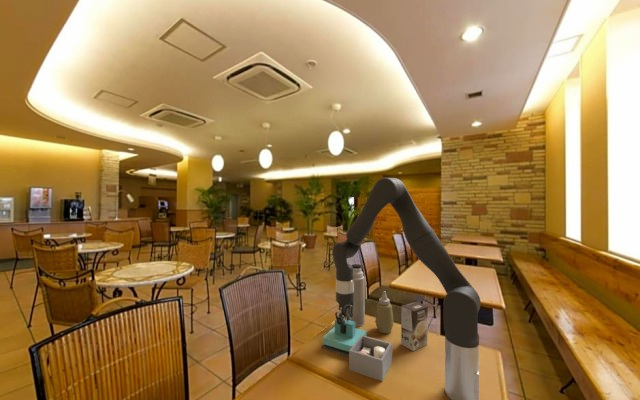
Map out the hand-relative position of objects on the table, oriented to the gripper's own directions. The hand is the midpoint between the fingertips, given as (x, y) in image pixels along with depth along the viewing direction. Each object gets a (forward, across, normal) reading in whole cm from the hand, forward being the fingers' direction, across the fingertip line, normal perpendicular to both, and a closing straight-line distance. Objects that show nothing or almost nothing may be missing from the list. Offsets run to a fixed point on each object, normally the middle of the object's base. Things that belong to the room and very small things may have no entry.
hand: (345, 331), depth 111 cm
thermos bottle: (+6, +20, +3) cm, 21 cm away
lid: (+4, 0, 0) cm, 4 cm away
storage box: (+6, -8, -14) cm, 17 cm away
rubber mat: (+6, 0, 0) cm, 6 cm away
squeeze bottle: (+6, +19, -11) cm, 23 cm away
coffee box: (+6, +14, -25) cm, 29 cm away
